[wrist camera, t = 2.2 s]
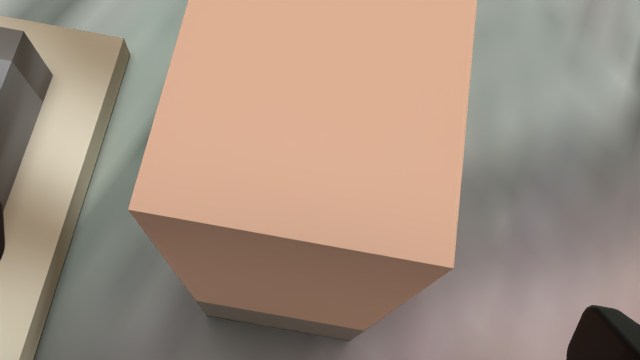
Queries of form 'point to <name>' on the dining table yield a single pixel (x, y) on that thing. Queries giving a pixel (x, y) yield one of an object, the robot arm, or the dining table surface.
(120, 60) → the square socket base
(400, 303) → the brown rectangular block
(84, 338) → the dining table surface
